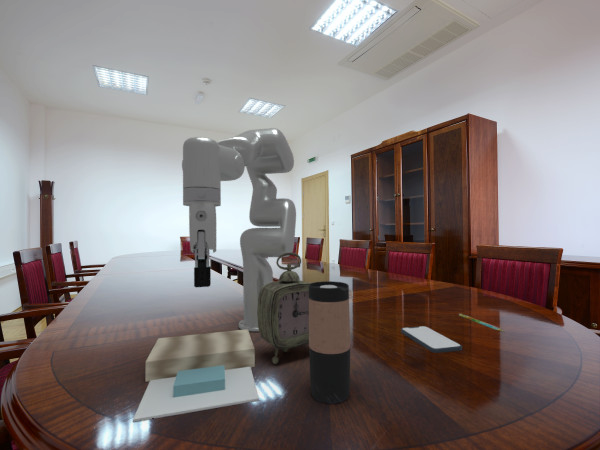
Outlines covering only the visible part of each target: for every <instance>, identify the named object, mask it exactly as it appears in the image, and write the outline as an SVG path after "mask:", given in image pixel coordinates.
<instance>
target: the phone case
mask: <svg viewBox="0 0 600 450" xmlns="http://www.w3.org/2000/svg"><path fill="white" fill-rule="evenodd" d="M400 333H401V334H402V335H404V336H406V337H407V338H408V339H410V340H412V341H413V342H415V343H417V344H418V345H419V346H421V347H423V348H424V349H426V350H428V351H429V352H431V353H435V354H439V353H441V354H443V353H449V352H459V351H460V352H461V351H462V350H463V345H462V344H459V343H458V342H456V341H454V340H452V339H450V338H449V337H446V336H445V335H443V334H441V333H439V332H437V331H435V330H433V329H432V328H430V327H428V326H425V325H422V326H421V325H420V326H410V327H409V326H408V327H401V329H400Z"/></svg>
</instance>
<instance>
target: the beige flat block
mask: <svg viewBox="0 0 600 450" xmlns="http://www.w3.org/2000/svg"><path fill="white" fill-rule="evenodd" d="M255 349H256V348H255V346H254V343H253V341H252V337H251V335H250V331H248V329H245V330H242V329H237V330H236V329H235V330H227V331H226V330H225V331H218V332H207V333H206V332H205V333H199V334H198V333H197V334H188V335H187V334H186V335H179V336H178V335H177V336H170V337H169V336H168V337H158V338H157V340H156V342H155V344H154V346H153V348H152V350H151V351H150V353H149V355H148V357H147V358H146V360H145V382H148V383H149V382H150V380H156V379H164V378H171V377H176V376H177V373H178V371H183V370H191V369H199V368H206V367H214V366H222V365H224V366H225V370H229V369H236V368H243V367H251V368H253V367H254V368H255V366H256V363H255V362H256V361H255V358H256V356H255V355H256V353H255V352H256V351H255Z"/></svg>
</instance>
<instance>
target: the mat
mask: <svg viewBox="0 0 600 450" xmlns="http://www.w3.org/2000/svg"><path fill="white" fill-rule="evenodd" d="M175 379H176V377H171V378H164V379H156V380H150V381H148V384H147V387H146V390H145V391H144V394H143V396H142V399H141V401H140V402H139V406H137V409H136V412H135V414H134V416H133V418H132V423H135V421H137V422H142V420H143V421H148V420H147V419H149V420H153V419H152V418H154V419H159V418H166V417H172V416H177V415H184V414H189V413H194V412H200V411H205V410H212V409H216V408H224V407H229V406H233V405H234V406H235V405H242V404H247V403H254V402H258V401H260V398H259V394H258V389H257V386H256V382H255V378H254V375H253V372H252V367H243V368H236V369H229V370H225V390H220V391H213V392H207V393H200V394H193V395H187V396H180V397H173V386H174V383H175ZM140 420H141V421H140Z"/></svg>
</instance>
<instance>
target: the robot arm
mask: <svg viewBox="0 0 600 450" xmlns="http://www.w3.org/2000/svg"><path fill="white" fill-rule="evenodd" d="M182 145H183V146H182V161H181V168H182V205H183V206H184V207H185V206H186V207H188V225H189V227H188V233H189V234H188V235H189V247H190V252H191V253H193V254H194V267H193V271H194V272H193V277H194V278H193V287H194V288H209V287H211V280H212V279H211V274H212V273H211V272H212V271H211V266H210V254H211V253H210V250H211V251H212V253H216V252H217V209H216V207H221V206H222V205H221V203H222V202H221V201H222V198H221V195H222V194H221V192H222V190H221V184H222V183H221V182H229V181H230V182H231V181H235V180H238V179H240V178H241V177H242V176H243V174H244V171H245V168H246V171H247V174H248V177H249V180H250V182H251V185H252V195H251V201H250V207H249V216H248V217H249V222H250V224H252V226H255V227H252V228H248V229H245V230H244V231H243V232H242V233H241V235H240V238H239V246H240V251H241V258H242V270H243V271H242V275H243V276H242V279H243V283H242V284H243V287H242V288H243V289H242V291H243V296H242V297H243V298H242V299H243V319H241V320H240V321H239V322H238V328H239V330H245V329H248V331H249V332H259V327H258V316H257V309H258V297H259V292H260V289H261V287H262V286H264V285H265V284H268V283H271V282H274V272H273V268H272V266H271V264H270V263H269V261H268V260H267V258H278V257H279V256H280V255H282V254H283V253H294V248H295V238H296V237H295V236H296V225H297V224H296V223H297V222H296V221H297V208H296V205H295V202H294V201H293V200H292V199H290V198H277V193H278V188H277V186H276V184H275V183H274V182H273V181H272V180H271V179H270V178H269V177H268V176H267V175H268V174H269V175H270V174H271V175H272V174H274V175H275V174H287V173H290V172H291V171H293V168H294V165H295V159H294V158H295V157H294V154H293V152H292V149H291V147H290V145H289V143H288V140H287V139H286V136H285V134H284V133H283V132H282V131H281V130H280V129H278V128H277V127H276V128H275V127H271V128H259V129H258V128H257V129H256V128H255V129H249V130H246V131H243V132H241V133H239V134H238V135H235V136H232V137H229V138H224V139H220V140H217V141H216V140H214V139H212V138H209V137H202V136H195V137H190V138H187V139H186V140H185V141H184V142H183V144H182ZM290 256H291V255H287V256H283V257H282V258H287V257H290Z"/></svg>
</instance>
